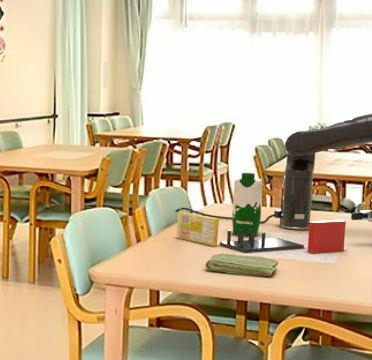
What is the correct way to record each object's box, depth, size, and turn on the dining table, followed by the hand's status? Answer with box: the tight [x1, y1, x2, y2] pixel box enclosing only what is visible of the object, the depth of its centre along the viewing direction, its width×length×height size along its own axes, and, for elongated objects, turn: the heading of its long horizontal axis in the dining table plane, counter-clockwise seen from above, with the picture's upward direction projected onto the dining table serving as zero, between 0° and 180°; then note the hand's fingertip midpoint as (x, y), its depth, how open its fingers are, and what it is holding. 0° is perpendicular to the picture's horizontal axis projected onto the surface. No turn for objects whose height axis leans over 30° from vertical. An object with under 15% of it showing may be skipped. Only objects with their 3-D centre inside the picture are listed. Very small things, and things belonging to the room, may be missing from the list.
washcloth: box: [204, 253, 279, 277], centre depth 243 cm, size 13×18×3 cm
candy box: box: [176, 211, 220, 247], centre depth 283 cm, size 16×2×8 cm, turn 35°
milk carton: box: [231, 172, 263, 237], centre depth 297 cm, size 9×9×20 cm
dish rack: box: [219, 229, 305, 254], centre depth 277 cm, size 12×22×5 cm, turn 116°
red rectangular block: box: [307, 219, 347, 254], centre depth 273 cm, size 2×12×9 cm, turn 116°
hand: (362, 218), depth 278 cm, fingers open, 8 cm apart
